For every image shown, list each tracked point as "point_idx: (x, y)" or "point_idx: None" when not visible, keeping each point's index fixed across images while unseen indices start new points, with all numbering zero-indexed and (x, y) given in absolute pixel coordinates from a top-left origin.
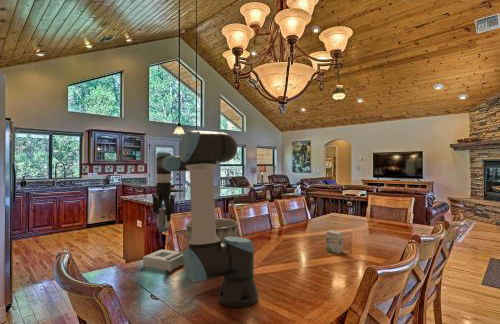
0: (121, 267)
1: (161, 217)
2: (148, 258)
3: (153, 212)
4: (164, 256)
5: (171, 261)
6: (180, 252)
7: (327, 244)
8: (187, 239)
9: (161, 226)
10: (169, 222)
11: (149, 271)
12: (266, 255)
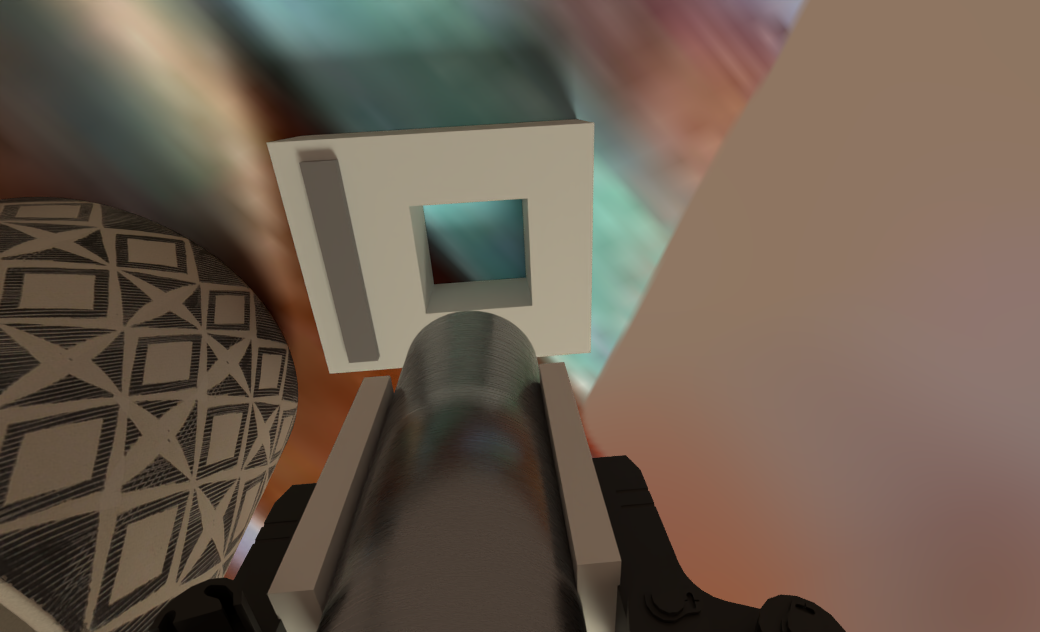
0: (733, 19)
1: (416, 485)
2: (528, 126)
3: (795, 596)
4: (509, 293)
5: (274, 155)
6: (360, 340)
7: None
8: (20, 325)
9: (440, 358)
10: None
11: (450, 56)
12: None
